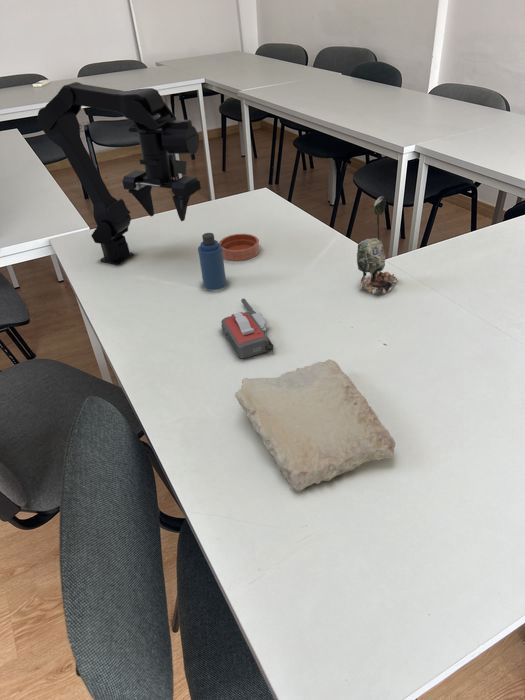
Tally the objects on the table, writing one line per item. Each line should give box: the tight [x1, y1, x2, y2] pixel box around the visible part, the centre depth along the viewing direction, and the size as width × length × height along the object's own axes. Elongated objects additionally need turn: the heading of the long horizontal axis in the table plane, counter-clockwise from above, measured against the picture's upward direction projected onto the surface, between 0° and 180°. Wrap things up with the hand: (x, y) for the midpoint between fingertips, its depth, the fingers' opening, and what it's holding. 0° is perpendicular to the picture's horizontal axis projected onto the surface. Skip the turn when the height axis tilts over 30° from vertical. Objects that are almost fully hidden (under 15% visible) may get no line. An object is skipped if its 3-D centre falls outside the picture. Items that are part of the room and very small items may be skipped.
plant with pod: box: [356, 195, 399, 295], centre depth 114 cm, size 8×11×20 cm
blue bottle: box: [197, 232, 227, 292], centre depth 121 cm, size 5×5×13 cm
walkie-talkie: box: [220, 298, 274, 359], centre depth 108 cm, size 9×4×20 cm
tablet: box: [234, 359, 396, 491], centre depth 84 cm, size 24×8×20 cm
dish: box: [218, 233, 261, 262], centre depth 137 cm, size 10×10×3 cm
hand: (167, 218), depth 127 cm, fingers open, 9 cm apart
